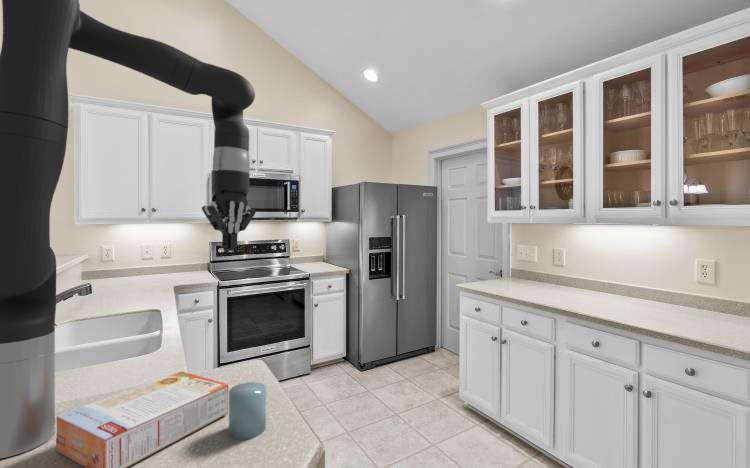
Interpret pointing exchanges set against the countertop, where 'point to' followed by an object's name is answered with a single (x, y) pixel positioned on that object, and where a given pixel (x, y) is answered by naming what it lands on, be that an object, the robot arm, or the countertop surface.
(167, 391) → the cracker box
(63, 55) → the robot arm
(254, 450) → the countertop surface
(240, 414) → the pale blue rounded cylinder
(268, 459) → the countertop surface
